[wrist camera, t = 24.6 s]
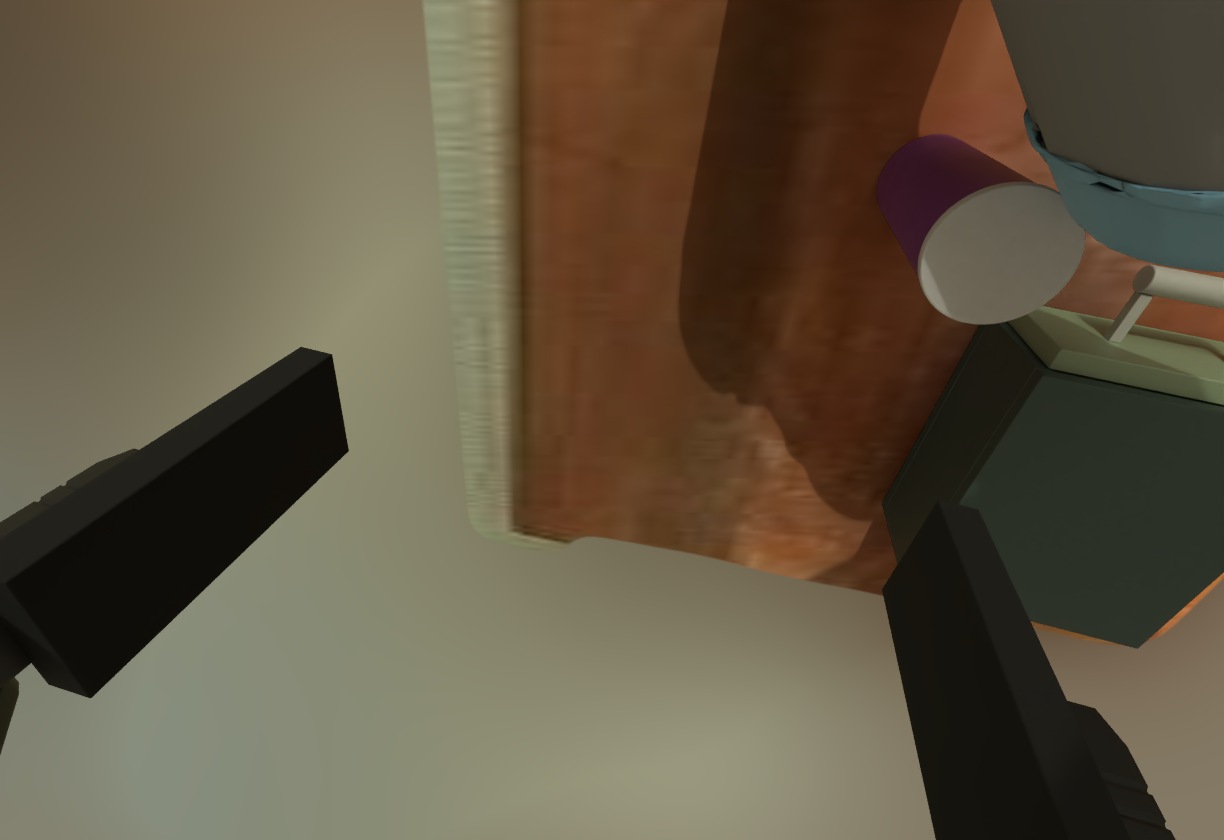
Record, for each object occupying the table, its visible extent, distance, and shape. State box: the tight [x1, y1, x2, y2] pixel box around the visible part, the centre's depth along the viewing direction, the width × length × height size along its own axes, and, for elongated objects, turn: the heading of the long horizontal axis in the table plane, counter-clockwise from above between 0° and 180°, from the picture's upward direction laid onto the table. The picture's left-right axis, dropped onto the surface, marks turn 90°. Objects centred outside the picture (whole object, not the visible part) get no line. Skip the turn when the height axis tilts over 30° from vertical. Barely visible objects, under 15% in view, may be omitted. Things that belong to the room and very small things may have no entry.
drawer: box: [1007, 265, 1224, 407], centre depth 34 cm, size 20×14×7 cm
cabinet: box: [882, 321, 1224, 648], centre depth 36 cm, size 17×15×9 cm
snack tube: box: [877, 135, 1086, 324], centre depth 27 cm, size 5×5×14 cm
